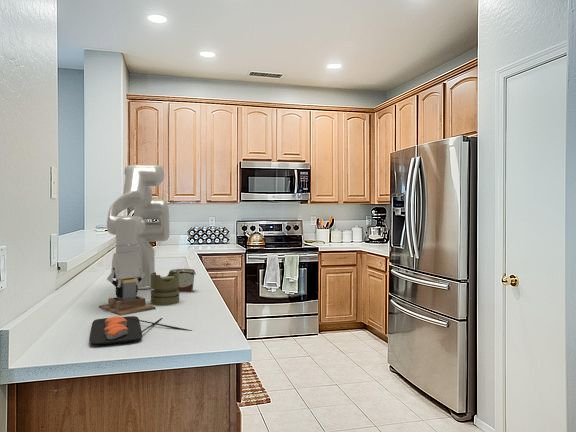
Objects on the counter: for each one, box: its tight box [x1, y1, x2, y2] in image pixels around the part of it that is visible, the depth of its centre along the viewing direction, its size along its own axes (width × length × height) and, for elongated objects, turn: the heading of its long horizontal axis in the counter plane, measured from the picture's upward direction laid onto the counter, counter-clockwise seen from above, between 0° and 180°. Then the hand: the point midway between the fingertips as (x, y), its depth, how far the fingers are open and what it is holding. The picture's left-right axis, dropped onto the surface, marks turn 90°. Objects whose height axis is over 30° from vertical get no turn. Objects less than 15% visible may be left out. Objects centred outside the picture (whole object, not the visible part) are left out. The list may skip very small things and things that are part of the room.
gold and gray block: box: [118, 278, 137, 302], centre depth 175 cm, size 5×5×9 cm
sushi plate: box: [89, 315, 193, 345], centre depth 145 cm, size 29×30×4 cm
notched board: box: [98, 295, 156, 316], centre depth 175 cm, size 18×14×4 cm
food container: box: [169, 268, 196, 293], centre depth 210 cm, size 12×6×10 cm, turn 84°
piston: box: [150, 270, 180, 306], centre depth 186 cm, size 11×12×11 cm
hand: (126, 295), depth 175 cm, fingers open, 5 cm apart
